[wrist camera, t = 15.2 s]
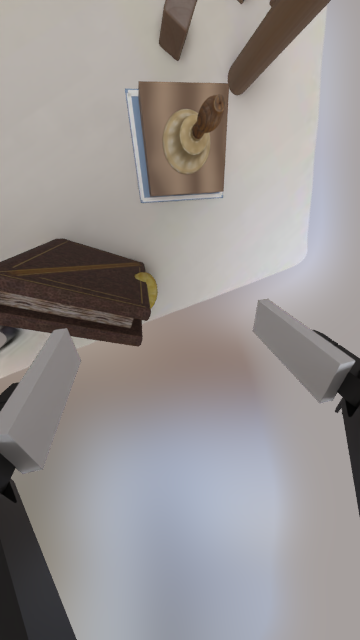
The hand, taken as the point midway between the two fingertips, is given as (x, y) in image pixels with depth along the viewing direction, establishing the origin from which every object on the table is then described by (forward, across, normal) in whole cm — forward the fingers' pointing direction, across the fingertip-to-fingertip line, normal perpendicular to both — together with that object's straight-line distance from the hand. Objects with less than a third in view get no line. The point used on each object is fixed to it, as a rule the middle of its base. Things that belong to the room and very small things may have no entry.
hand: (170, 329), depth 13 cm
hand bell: (+31, +9, +16) cm, 36 cm away
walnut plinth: (+37, +9, +16) cm, 41 cm away
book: (+37, -10, -4) cm, 38 cm away
